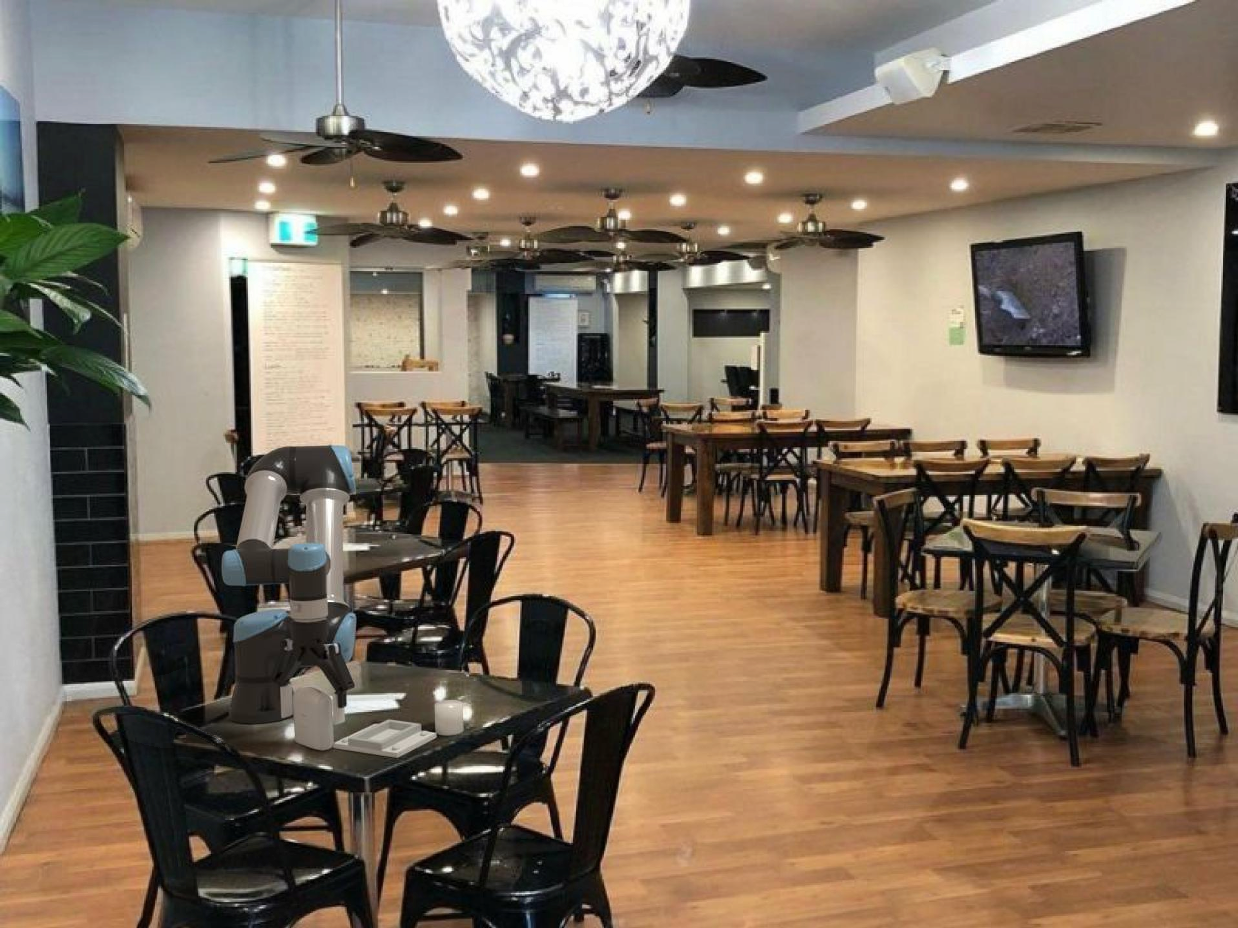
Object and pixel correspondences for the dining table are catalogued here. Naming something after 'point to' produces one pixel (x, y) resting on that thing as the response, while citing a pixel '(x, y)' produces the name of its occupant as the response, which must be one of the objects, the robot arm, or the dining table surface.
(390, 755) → the dock plate
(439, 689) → the dining table surface
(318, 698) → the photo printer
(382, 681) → the dining table surface
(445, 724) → the white rounded cylinder
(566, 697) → the dining table surface
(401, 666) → the dining table surface
